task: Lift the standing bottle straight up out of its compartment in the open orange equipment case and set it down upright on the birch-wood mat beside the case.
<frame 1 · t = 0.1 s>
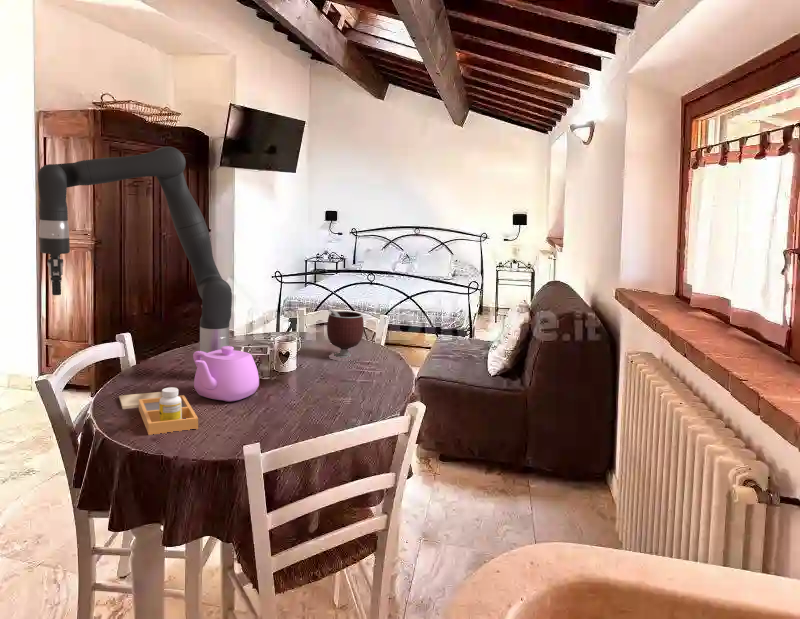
hand: (56, 292, 183), 29 cm above the table, tool pointing down, fingers open, 8 cm apart
teapot: (225, 396, 192), on the table
mat: (143, 401, 183), on the table
equipment case: (167, 419, 170), on the table
mate gourd: (342, 358, 245), on the table
supplement bottle: (170, 426, 166), resting in equipment case
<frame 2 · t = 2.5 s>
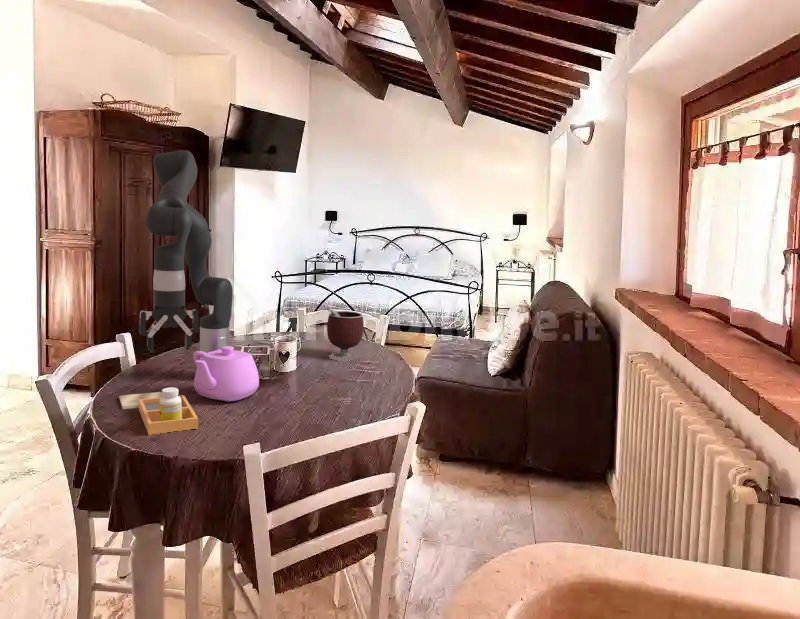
hand: (169, 350, 162), 20 cm above the table, tool pointing down, fingers open, 8 cm apart
nothing on the table moved.
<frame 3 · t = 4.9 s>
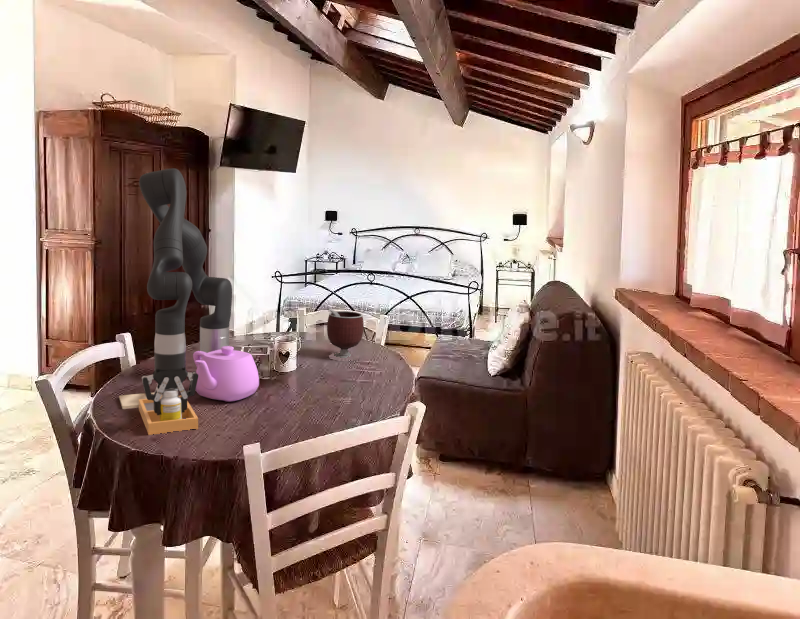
hand: (170, 412, 165), 4 cm above the table, tool pointing down, fingers closed on supplement bottle, 5 cm apart
supplement bottle: (170, 426, 166), resting in equipment case, touching gripper
everything else where it was.
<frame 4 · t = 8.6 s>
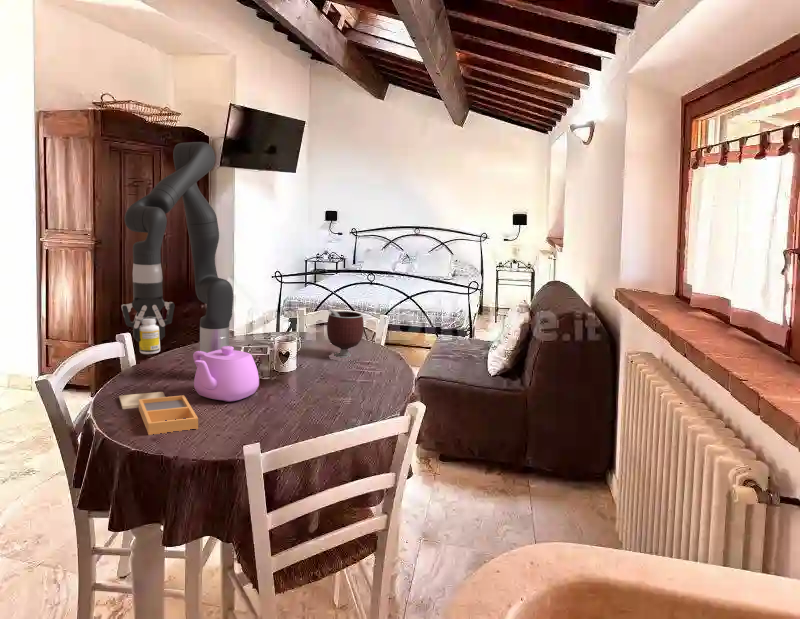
hand: (149, 339, 177), 19 cm above the table, tool pointing down, fingers closed on supplement bottle, 5 cm apart
supplement bottle: (149, 352, 178), point 15 cm above the table, touching gripper
everything else where it was.
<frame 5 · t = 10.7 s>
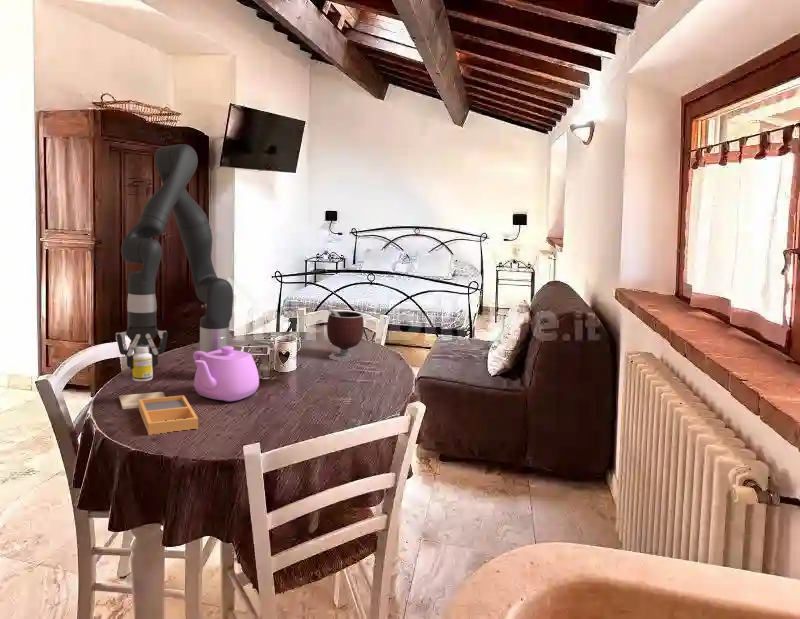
hand: (142, 367, 181), 10 cm above the table, tool pointing down, fingers closed on supplement bottle, 5 cm apart
supplement bottle: (142, 379, 182), point 6 cm above the table, touching gripper
everything else where it was.
when the fingers open (5 cm above the table, at t = 12.5 s): supplement bottle drops 1 cm, resting on mat.
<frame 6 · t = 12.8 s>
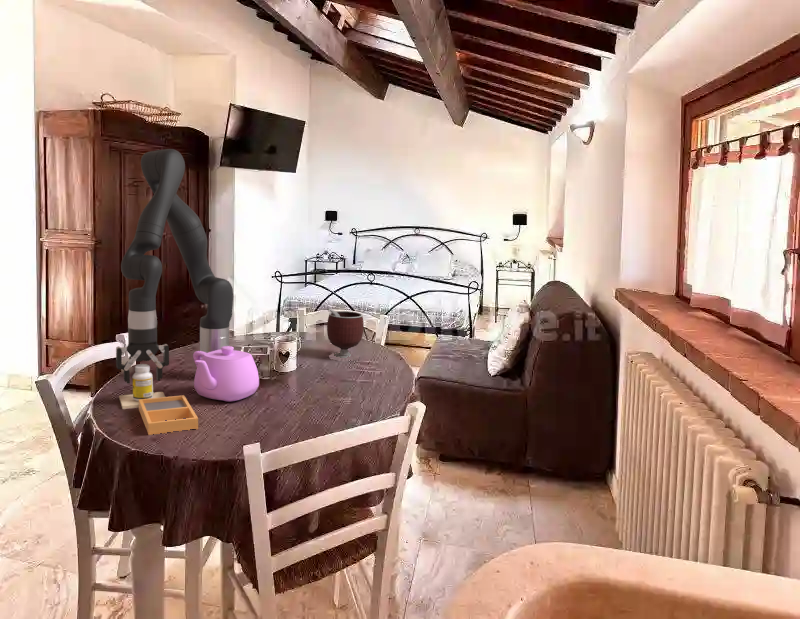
hand: (143, 381, 182), 6 cm above the table, tool pointing down, fingers open, 7 cm apart
supplement bottle: (142, 399, 183), point 1 cm above the table, touching mat
everything else where it was.
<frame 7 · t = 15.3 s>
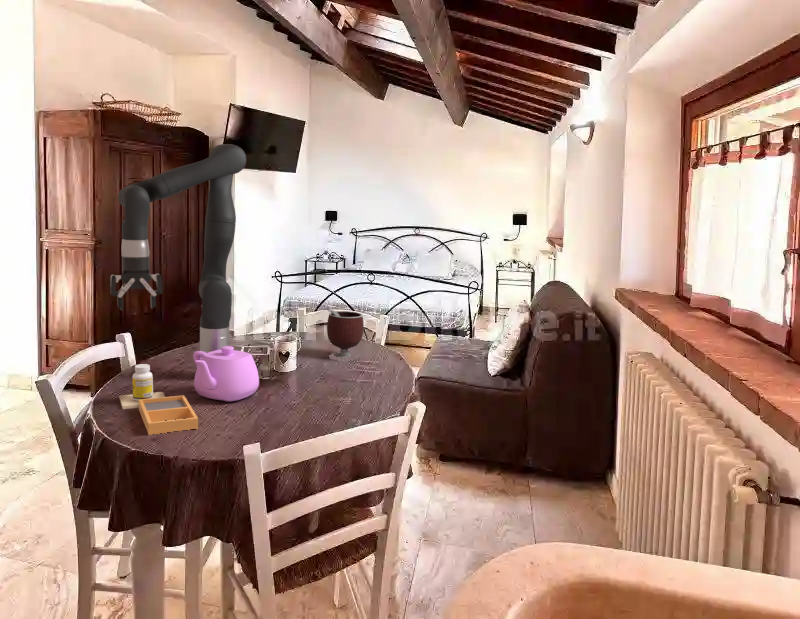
hand: (137, 308, 190), 25 cm above the table, tool pointing down, fingers open, 8 cm apart
nothing on the table moved.
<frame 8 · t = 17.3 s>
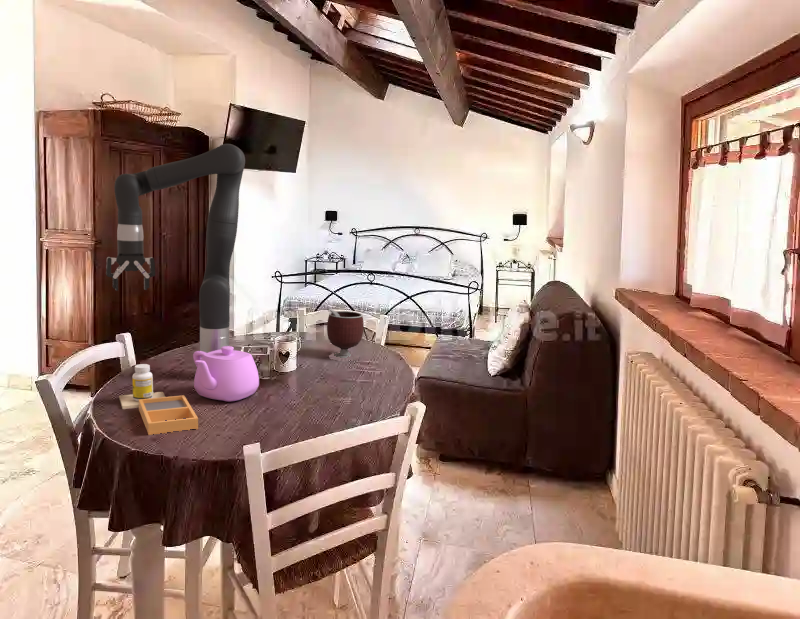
hand: (131, 289, 202), 28 cm above the table, tool pointing down, fingers open, 8 cm apart
nothing on the table moved.
at the end: supplement bottle inside the target area on the mat (0.1 cm from its centre), point 0.6 cm above the mat's base; supplement bottle tilted 0°; the gripper is holding nothing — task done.
